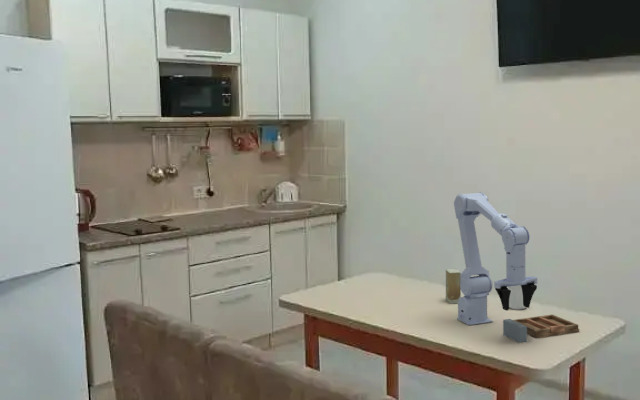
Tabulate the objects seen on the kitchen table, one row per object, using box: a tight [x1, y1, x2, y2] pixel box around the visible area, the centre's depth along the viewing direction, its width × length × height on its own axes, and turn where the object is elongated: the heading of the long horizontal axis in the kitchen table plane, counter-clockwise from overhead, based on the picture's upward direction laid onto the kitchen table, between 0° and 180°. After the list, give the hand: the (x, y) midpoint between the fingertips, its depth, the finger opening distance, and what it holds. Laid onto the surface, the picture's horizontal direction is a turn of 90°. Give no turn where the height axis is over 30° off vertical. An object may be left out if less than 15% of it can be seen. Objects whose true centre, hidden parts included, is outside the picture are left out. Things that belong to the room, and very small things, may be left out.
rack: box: [513, 314, 580, 339], centre depth 215 cm, size 16×14×3 cm
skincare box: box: [445, 268, 462, 305], centre depth 251 cm, size 6×4×12 cm
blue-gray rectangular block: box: [502, 318, 528, 344], centre depth 207 cm, size 2×9×5 cm, turn 18°
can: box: [507, 285, 527, 311], centre depth 240 cm, size 6×6×12 cm
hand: (516, 308), depth 206 cm, fingers open, 7 cm apart
